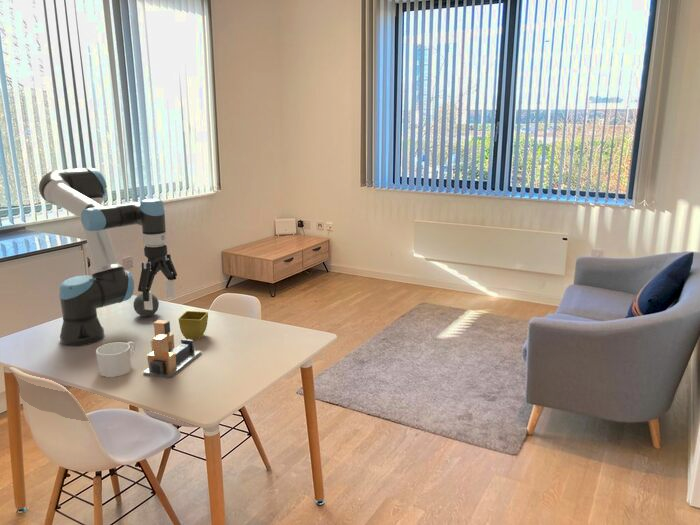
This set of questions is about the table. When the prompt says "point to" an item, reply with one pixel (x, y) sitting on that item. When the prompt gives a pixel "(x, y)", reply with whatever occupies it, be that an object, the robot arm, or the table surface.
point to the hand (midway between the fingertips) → (160, 303)
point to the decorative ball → (140, 305)
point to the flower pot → (193, 324)
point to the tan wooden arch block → (163, 332)
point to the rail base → (169, 357)
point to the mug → (114, 358)
